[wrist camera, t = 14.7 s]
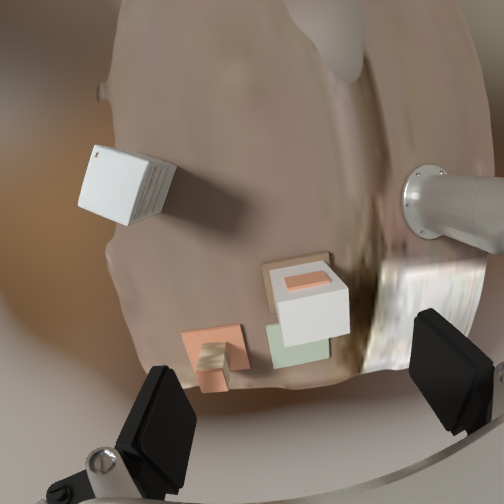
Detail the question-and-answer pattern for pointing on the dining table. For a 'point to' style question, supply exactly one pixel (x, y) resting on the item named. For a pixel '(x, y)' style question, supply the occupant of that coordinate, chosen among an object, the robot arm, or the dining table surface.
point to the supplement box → (125, 185)
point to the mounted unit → (307, 298)
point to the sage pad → (294, 349)
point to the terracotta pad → (218, 334)
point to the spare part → (213, 367)
